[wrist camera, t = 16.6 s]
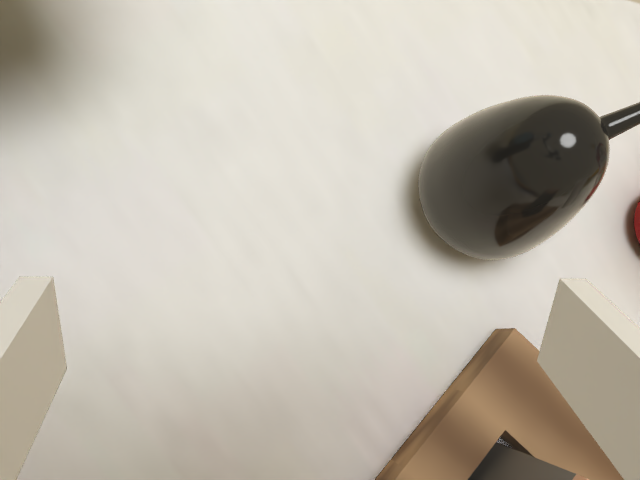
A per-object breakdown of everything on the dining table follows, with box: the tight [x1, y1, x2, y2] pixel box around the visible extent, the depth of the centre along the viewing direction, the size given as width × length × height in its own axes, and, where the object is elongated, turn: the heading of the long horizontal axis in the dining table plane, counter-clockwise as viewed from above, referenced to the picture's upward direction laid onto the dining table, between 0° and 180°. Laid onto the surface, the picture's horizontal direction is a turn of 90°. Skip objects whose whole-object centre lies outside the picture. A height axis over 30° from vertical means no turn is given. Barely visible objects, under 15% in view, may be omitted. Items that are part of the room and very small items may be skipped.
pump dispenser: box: [419, 95, 640, 260], centre depth 37 cm, size 10×10×15 cm
